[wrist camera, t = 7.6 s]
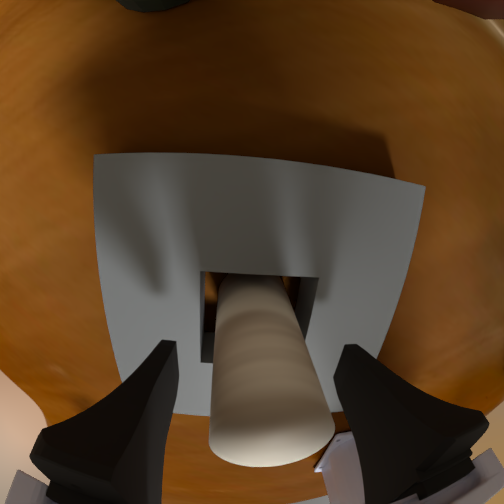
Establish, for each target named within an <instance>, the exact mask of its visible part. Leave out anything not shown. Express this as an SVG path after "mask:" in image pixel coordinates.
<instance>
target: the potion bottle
mask: <svg viewBox="0 0 504 504" xmlns="http://www.w3.org/2000/svg"><path fill="white" fill-rule="evenodd" d="M116 1H118V2H119V3H120V4H121V5H123V6H124V7H125V8H126V9H129V10H135V11H140V12H151V11H159V10H167V9H169V8H172V7H175V6H178V5H181V4H184V3H187V2H189V1H190V0H116Z"/></svg>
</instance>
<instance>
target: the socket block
mask: <svg viewBox="0 0 504 504" xmlns="http://www.w3.org/2000/svg"><path fill="white" fill-rule="evenodd" d="M425 187H426V186H422V185H418V184H414V183H410V182H406V181H401V180H397V179H393V178H388V177H383V176H379V175H374V174H369V173H364V172H358V171H353V170H347V169H342V168H336V167H330V166H323V165H317V164H310V163H302V162H295V161H287V160H278V159H269V158H258V157H247V156H234V155H219V154H199V153H114V154H95V155H94V170H93V197H94V223H95V238H96V249H97V259H98V268H99V276H100V283H101V290H102V296H103V302H104V308H105V313H106V319H107V324H108V328H109V333H110V338H111V342H112V346H113V351H114V355H115V358H116V362H117V366H118V370H119V373H120V377H121V380H122V383H123V382H124V381H125V380H126V379H127V378H128V377H129V376H130V375H131V374H132V373H133V372H134V371H135V370H136V369H137V368H138V367H139V366H140V364H141V363H142V362H143V361H144V360H145V359H146V358H147V357H148V355H149V354H150V353H151V352H152V351H153V349H154V348H155V347H156V346H157V344H158V343H159V342H160V341H161V340H162V339H163V340H172V341H176V342H177V354H178V365H179V383H178V391H177V398H176V402H175V406H174V410H173V413H180V414H189V415H201V416H210V406H211V388H212V372H213V357H214V342H215V332H204V313H205V271H207V272H223V273H239V274H257V275H276V276H297V277H301V280H300V285H299V291H298V297H297V302H296V307H295V316H296V319H297V321H298V324H299V327H300V329H301V332H302V335H303V338H304V340H305V343H306V346H307V348H308V351H309V354H310V357H311V359H312V362H313V365H314V368H315V370H316V373H317V376H318V379H319V381H320V384H321V387H322V390H323V393H324V395H325V398H326V401H327V404H328V407H329V409H330V412H331V413H332V412H340V411H343V409H342V406H341V404H340V401H339V398H338V396H337V392H336V388H335V384H334V379H333V376H334V373H335V370H336V368H337V365H338V362H339V359H340V356H341V353H342V351H343V348H344V345H345V344H358V345H359V346H360V347H362V348H363V349H364V350H366V351H367V352H368V353H369V354H371V355H372V356H373V357H374V358H376V359H377V356H378V354H379V351H380V349H381V347H382V344H383V342H384V339H385V336H386V334H387V331H388V329H389V326H390V323H391V321H392V318H393V315H394V312H395V309H396V306H397V303H398V300H399V297H400V294H401V291H402V288H403V284H404V281H405V278H406V274H407V271H408V267H409V263H410V260H411V256H412V252H413V248H414V244H415V239H416V235H417V230H418V226H419V221H420V216H421V211H422V205H423V199H424V193H425Z"/></svg>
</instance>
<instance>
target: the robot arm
mask: <svg viewBox="0 0 504 504" xmlns="http://www.w3.org/2000/svg"><path fill="white" fill-rule="evenodd" d="M333 379H334V384H335V388H336V392H337V396H338V398H339V401H340V404H341V406H342V409H343V411H344V414H345V416H346V419H347V421H348V424H349V426H350V429H351V432H345V433H339V434H337V435H335V437H334V438H333V440H332V442H331V443H330V445H329V447H328V448H327V450H326V452H325V453H324V455H323V456H322V458H321V460H320V461H319V463H318V464H317V466H316V467H315V469H314V472H322V474H323V478H324V481H325V485H326V489H327V493H328V496H329V500H330V504H485V503H486V502H487V501H488V500H489V499H491V497H493V496H494V495H495V494H496V493H497V492H499V491H500V490H501V489H502V488H503V487H504V468H503V466H502V465H501V463H500V461H499V460H498V459H497V457H496V455H495V453H494V452H493V450H492V449H491V448H489V449H488V450H486V451H485V452H483V453H482V454H480V455H479V456H477V457H476V458H475V459H473V460H471V459H470V456H471V455H472V451H471V449H470V448H471V447H472V446H473V445H474V444H475V443H476V442H477V441H478V440H479V438H480V437H481V436H482V435H483V434H484V433H485V431H486V430H487V428H488V426H489V422H488V420H487V419H486V417H485V416H484V414H483V413H482V412H481V411H478V410H473V409H469V408H464V407H460V406H457V405H454V404H451V403H448V402H445V401H443V400H440V399H438V398H436V397H433V396H431V395H429V394H427V393H425V392H423V391H421V390H420V389H418V388H416V387H414V386H413V385H411V384H409V383H408V382H406V381H405V380H403V379H402V378H401V377H399V376H398V375H396V374H395V373H394V372H392V371H391V370H390V369H388V368H387V367H386V366H384V365H383V364H382V363H381V362H379V361H378V360H377V359H376V358H374V357H373V356H372V355H371V354H369V353H368V352H367V351H366V350H364V349H363V348H362V347H360V346H359V345H358V344H345V345H344V348H343V351H342V353H341V356H340V359H339V362H338V365H337V368H336V370H335V373H334V376H333ZM178 383H179V365H178V354H177V342H176V341H172V340H163V339H162V340H161V341H160V342H159V343H158V344H157V346H156V347H155V348H154V349H153V351H152V352H151V353H150V354H149V355H148V357H147V358H146V359H145V360H144V361H143V362H142V363H141V364H140V366H139V367H138V368H137V369H136V370H135V371H134V372H133V373H132V374H131V375H130V376H129V377H128V378H127V379H126V380H125V381H124V382H123V383H122V384H121V385H119V386H118V387H117V388H116V389H115V390H114V391H112V392H111V393H110V394H109V395H107V396H106V397H105V398H103V399H102V400H100V401H99V402H97V403H96V404H95V405H93V406H91V407H90V408H88V409H87V410H85V411H83V412H81V413H79V414H77V415H75V416H74V417H72V418H70V419H67V420H65V421H63V422H60V423H58V424H55V425H52V426H50V427H47V428H44V429H42V430H41V432H40V434H39V435H38V438H37V440H36V442H35V444H34V446H33V449H32V451H31V453H30V459H31V461H32V463H33V464H34V465H35V466H36V467H37V468H38V469H39V470H40V471H41V472H42V473H43V474H44V475H45V476H46V477H47V478H48V479H50V480H51V481H50V484H49V486H47V485H46V484H45V483H43V482H41V481H39V480H37V479H35V478H34V477H32V476H30V475H28V474H26V473H24V472H23V471H21V470H17V472H16V475H15V477H14V480H13V482H12V485H11V488H10V490H9V493H8V496H7V499H6V502H5V504H161V497H162V476H163V463H164V453H165V444H166V439H167V434H168V430H169V426H170V422H171V418H172V414H173V410H174V406H175V402H176V398H177V391H178Z"/></svg>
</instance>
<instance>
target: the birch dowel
mask: <svg viewBox="0 0 504 504" xmlns="http://www.w3.org/2000/svg"><path fill="white" fill-rule="evenodd" d="M334 432H335V424H334V421H333V418H332V415H331V412H330V409H329V407H328V404H327V401H326V398H325V395H324V393H323V390H322V387H321V384H320V381H319V379H318V376H317V373H316V370H315V368H314V365H313V362H312V359H311V357H310V354H309V351H308V348H307V346H306V343H305V340H304V338H303V335H302V332H301V329H300V327H299V324H298V321H297V319H296V316H295V313H294V311H293V308H292V305H291V303H290V300H289V297H288V295H287V292H286V290H285V287H284V284H283V282H282V280H281V278H280V277H279V276H276V275H257V274H239V273H229V274H228V275H227V276H226V277H225V278H224V279H223V281H222V282H221V285H220V287H219V293H218V304H217V316H216V329H215V342H214V357H213V372H212V388H211V406H210V427H209V445H210V448H211V450H212V451H213V452H214V453H215V454H216V455H217V456H219V457H220V458H222V459H224V460H226V461H228V462H231V463H234V464H238V465H243V466H251V467H270V466H278V465H284V464H288V463H292V462H295V461H298V460H301V459H304V458H306V457H308V456H310V455H312V454H314V453H316V452H317V451H319V450H320V449H322V448H323V447H324V446H325V445H326V444H327V443H328V442H329V441H330V440H331V438H332V437H333V434H334Z"/></svg>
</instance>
